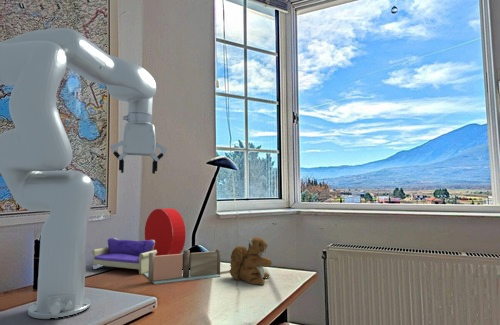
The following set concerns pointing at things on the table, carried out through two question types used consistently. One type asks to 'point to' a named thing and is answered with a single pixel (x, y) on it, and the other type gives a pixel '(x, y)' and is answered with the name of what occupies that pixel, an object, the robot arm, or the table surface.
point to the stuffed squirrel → (250, 262)
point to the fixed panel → (201, 263)
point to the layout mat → (183, 278)
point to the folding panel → (165, 266)
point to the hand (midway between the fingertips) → (138, 173)
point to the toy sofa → (125, 254)
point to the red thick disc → (166, 231)
